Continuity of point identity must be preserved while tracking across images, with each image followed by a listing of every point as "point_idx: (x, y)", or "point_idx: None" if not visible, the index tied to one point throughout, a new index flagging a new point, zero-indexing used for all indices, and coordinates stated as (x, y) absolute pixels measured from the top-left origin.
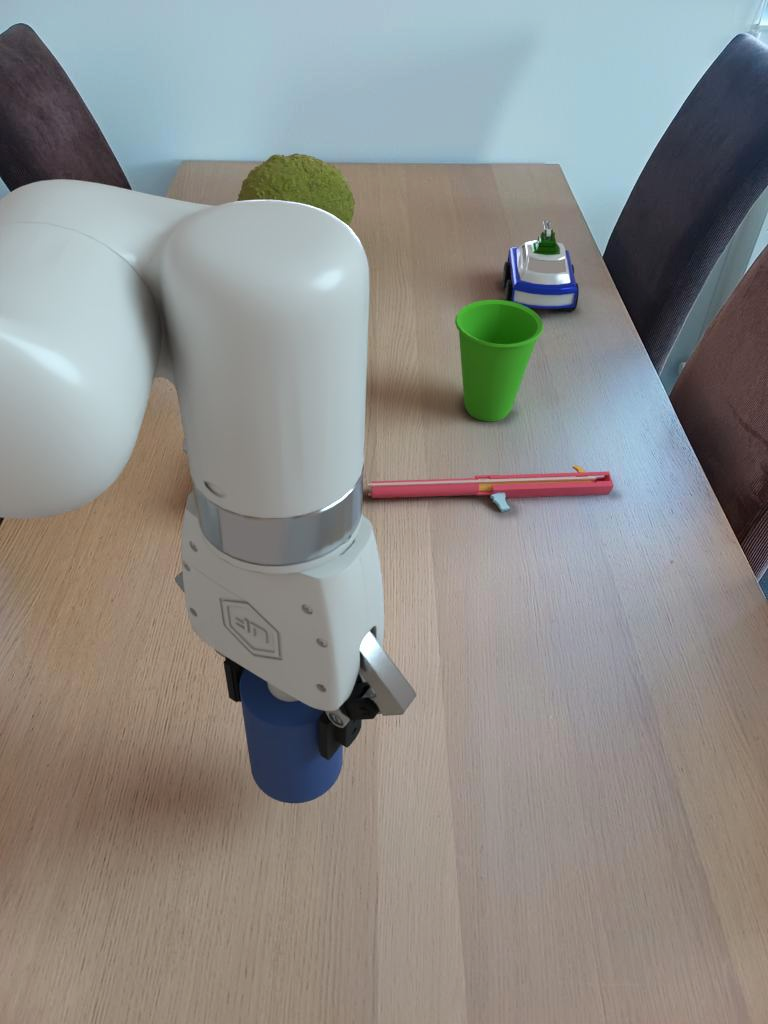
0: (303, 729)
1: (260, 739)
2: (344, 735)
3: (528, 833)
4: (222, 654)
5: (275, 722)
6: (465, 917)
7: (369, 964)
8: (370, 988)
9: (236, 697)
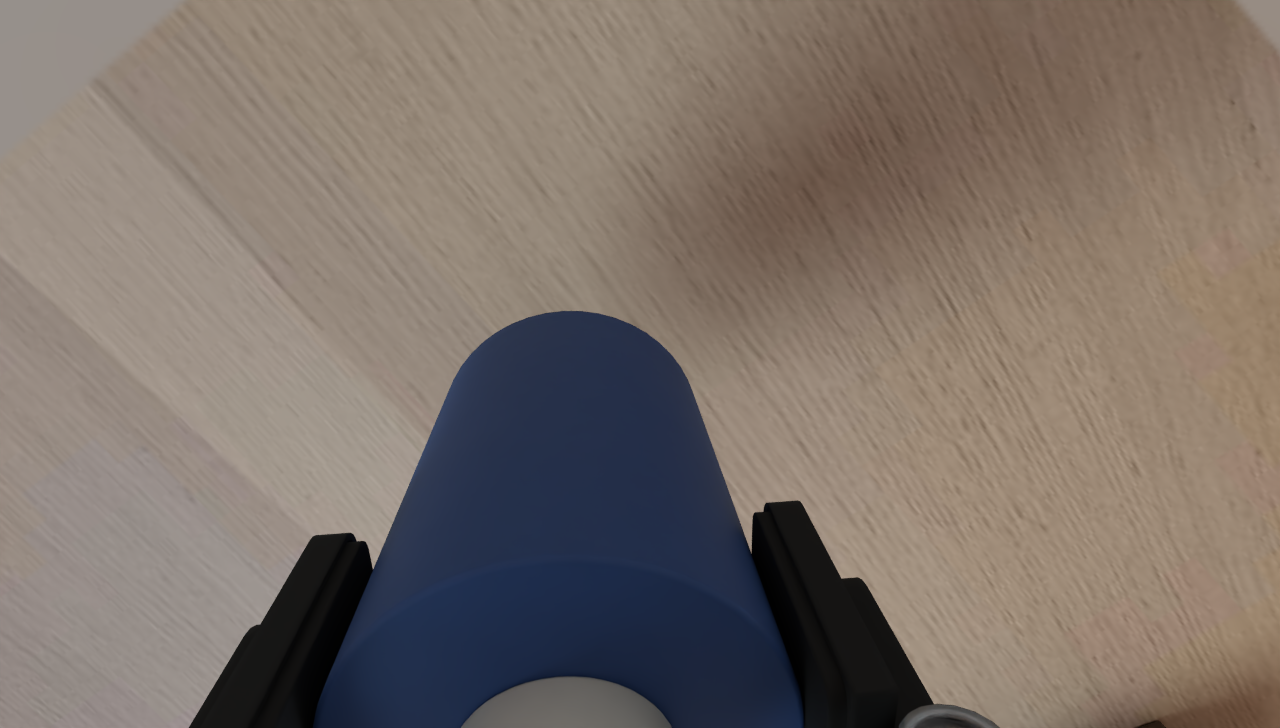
0: (355, 627)
1: (557, 457)
2: (215, 695)
3: (139, 573)
4: (930, 716)
5: (464, 591)
6: (106, 365)
7: (185, 161)
8: (144, 121)
9: (773, 522)
